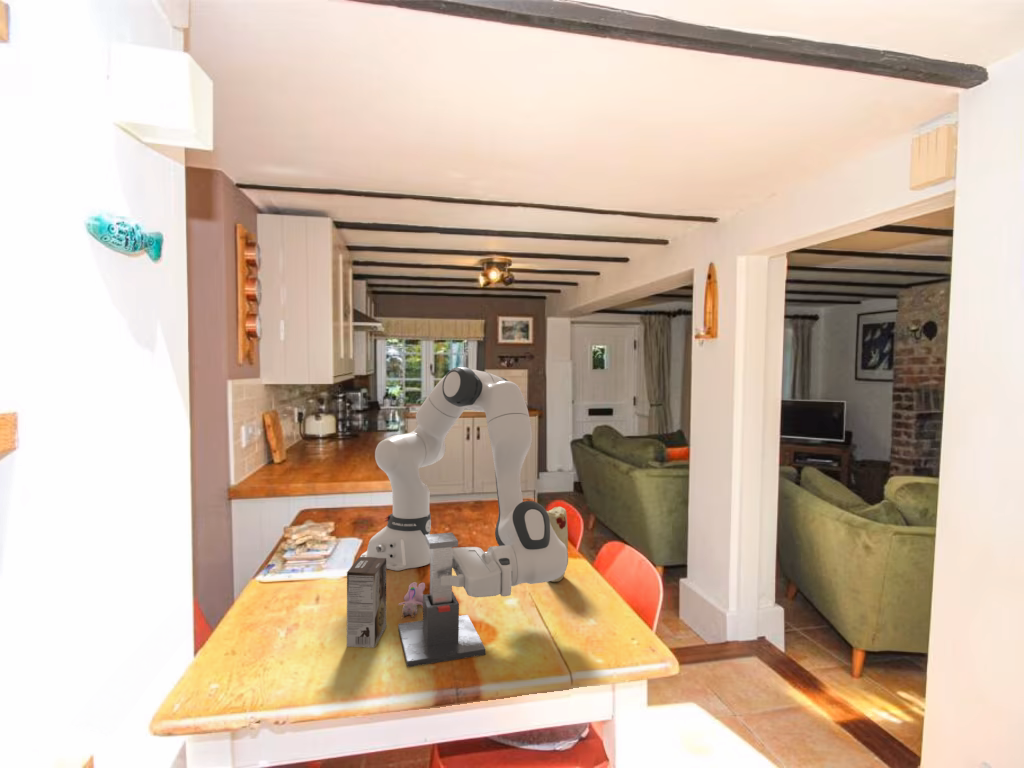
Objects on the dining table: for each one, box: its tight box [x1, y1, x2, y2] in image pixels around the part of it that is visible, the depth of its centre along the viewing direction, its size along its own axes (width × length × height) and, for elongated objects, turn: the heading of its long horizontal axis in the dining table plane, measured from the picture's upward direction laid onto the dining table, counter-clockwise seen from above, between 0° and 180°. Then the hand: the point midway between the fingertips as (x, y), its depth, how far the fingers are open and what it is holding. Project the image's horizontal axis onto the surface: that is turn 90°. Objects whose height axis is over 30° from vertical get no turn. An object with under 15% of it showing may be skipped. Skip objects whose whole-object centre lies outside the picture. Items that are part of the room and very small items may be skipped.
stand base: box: [397, 590, 487, 668], centre depth 115 cm, size 16×16×9 cm
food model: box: [546, 506, 569, 583], centre depth 151 cm, size 10×7×20 cm
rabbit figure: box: [398, 581, 426, 620], centre depth 132 cm, size 6×6×15 cm
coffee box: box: [346, 556, 387, 649], centre depth 116 cm, size 9×6×16 cm
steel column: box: [425, 532, 459, 606], centre depth 115 cm, size 6×6×21 cm
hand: (436, 573), depth 114 cm, fingers open, 7 cm apart
